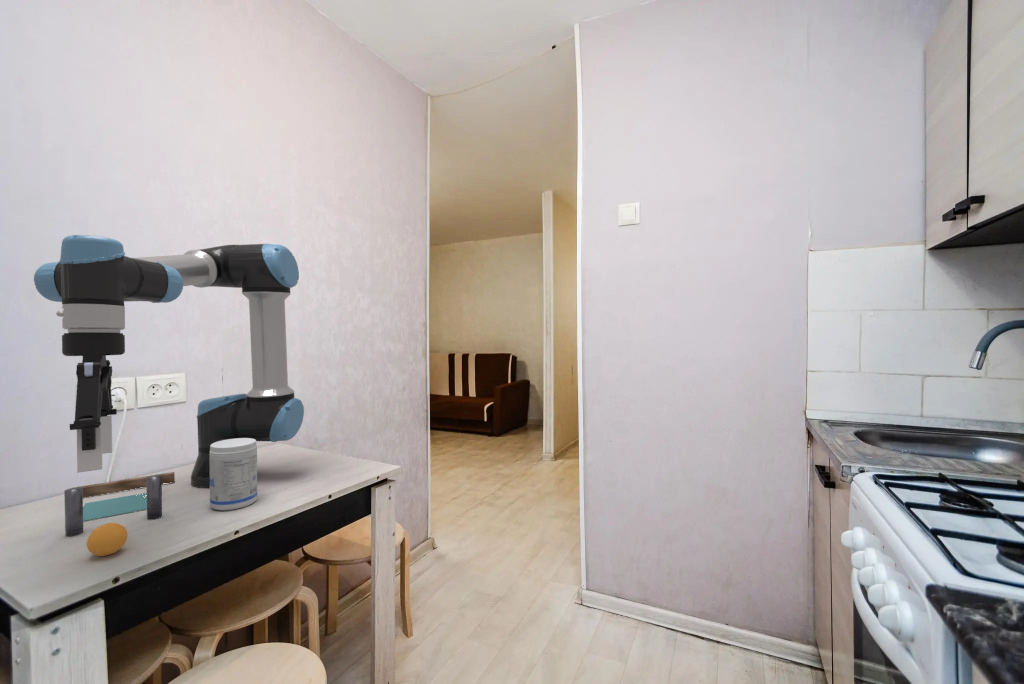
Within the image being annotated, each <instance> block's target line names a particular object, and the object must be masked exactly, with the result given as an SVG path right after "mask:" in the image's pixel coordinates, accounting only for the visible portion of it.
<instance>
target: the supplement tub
mask: <svg viewBox="0 0 1024 684" xmlns="http://www.w3.org/2000/svg"><path fill="white" fill-rule="evenodd" d="M209 455H210V458H209V460H210V487H209V504H210V505H209V506H210V507H211V509H213V510H216V511H231V510H233V511H234V510H237V509H241V508H244V507H247V506H249V505H251V504H253V503H255V501H257V499H258V446H257V441H256V440H255V439H252V438H235V439H227V440H222V441H218V442H215V443H212V444H211V445H210V454H209Z"/></svg>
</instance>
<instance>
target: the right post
mask: <svg viewBox="0 0 1024 684" xmlns="http://www.w3.org/2000/svg"><path fill="white" fill-rule="evenodd" d="M147 476H148V477H146V488H145V489H146V492H145V493H147V510H146V519H154V520H157V519H156V518H158V519H160V518H162V517H163V494H162V493H163V492H162V491H163V490H162V479H161V475H157V474H152V476H151V475H147ZM161 516H162V517H161ZM159 517H160V518H159Z"/></svg>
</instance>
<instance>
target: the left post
mask: <svg viewBox="0 0 1024 684" xmlns="http://www.w3.org/2000/svg"><path fill="white" fill-rule="evenodd" d="M63 493H64V525H65V526H64V527H65V529H64V530H65V532H64V534H65V537H66V538H67V537H74V536H78V535H81V534H82V533H84V522H83V507H84V500H83V499H84V498H83V488H82V487H80V486H75V488H74V487H71V488H66V489H65V490H64V492H63Z"/></svg>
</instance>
